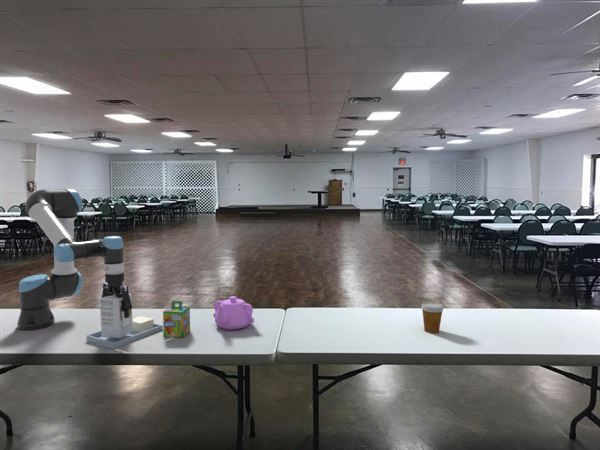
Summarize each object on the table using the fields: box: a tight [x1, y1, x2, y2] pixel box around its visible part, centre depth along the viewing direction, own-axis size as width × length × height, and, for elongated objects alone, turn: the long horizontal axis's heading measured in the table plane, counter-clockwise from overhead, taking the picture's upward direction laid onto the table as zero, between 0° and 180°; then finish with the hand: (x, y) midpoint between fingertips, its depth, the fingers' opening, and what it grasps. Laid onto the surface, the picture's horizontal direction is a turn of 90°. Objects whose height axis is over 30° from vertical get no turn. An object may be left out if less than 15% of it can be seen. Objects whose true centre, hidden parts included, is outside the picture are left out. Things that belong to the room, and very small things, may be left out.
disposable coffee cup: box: [420, 301, 444, 334], centre depth 190 cm, size 10×10×12 cm
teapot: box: [213, 296, 255, 331], centre depth 197 cm, size 22×22×14 cm
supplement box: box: [99, 293, 133, 338], centre depth 183 cm, size 10×9×17 cm
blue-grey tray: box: [86, 322, 163, 350], centre depth 187 cm, size 18×25×3 cm
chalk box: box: [162, 300, 191, 339], centre depth 189 cm, size 9×9×15 cm
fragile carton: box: [132, 315, 155, 333], centre depth 194 cm, size 9×7×4 cm
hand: (117, 322), depth 183 cm, fingers closed on supplement box, 11 cm apart
